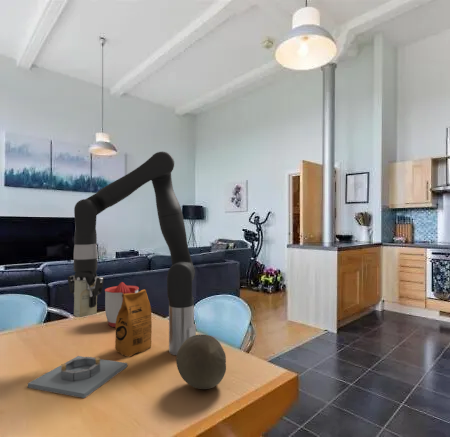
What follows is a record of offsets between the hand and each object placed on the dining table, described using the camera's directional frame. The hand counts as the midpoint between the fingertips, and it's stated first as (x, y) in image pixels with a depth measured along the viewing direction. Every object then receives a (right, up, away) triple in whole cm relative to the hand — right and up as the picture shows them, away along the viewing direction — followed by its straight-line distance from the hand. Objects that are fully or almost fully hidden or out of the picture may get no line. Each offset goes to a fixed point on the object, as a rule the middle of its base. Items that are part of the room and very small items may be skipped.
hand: (85, 306), depth 109 cm
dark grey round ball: (+41, -19, -18) cm, 49 cm away
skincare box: (0, -3, 0) cm, 3 cm away
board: (+3, -19, -10) cm, 22 cm away
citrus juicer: (0, -20, +41) cm, 46 cm away
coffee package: (+13, -20, +11) cm, 26 cm away
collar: (+3, -18, -10) cm, 21 cm away
